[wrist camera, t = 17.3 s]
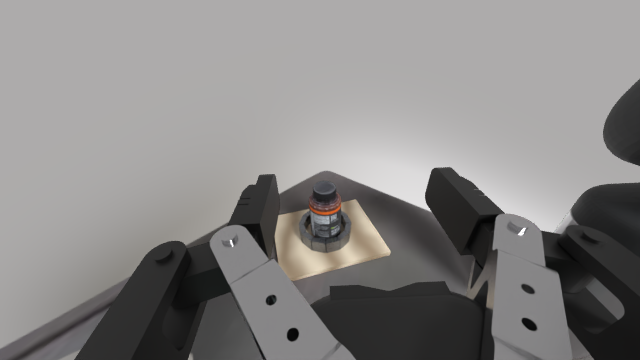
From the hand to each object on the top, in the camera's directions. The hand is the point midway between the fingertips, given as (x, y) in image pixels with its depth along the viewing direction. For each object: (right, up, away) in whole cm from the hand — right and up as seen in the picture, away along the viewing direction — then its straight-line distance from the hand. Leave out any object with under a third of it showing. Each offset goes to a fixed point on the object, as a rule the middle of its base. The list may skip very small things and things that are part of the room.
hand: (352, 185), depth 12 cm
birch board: (-1, -11, +34) cm, 36 cm away
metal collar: (-1, -11, +34) cm, 36 cm away
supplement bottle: (0, -10, +34) cm, 35 cm away
